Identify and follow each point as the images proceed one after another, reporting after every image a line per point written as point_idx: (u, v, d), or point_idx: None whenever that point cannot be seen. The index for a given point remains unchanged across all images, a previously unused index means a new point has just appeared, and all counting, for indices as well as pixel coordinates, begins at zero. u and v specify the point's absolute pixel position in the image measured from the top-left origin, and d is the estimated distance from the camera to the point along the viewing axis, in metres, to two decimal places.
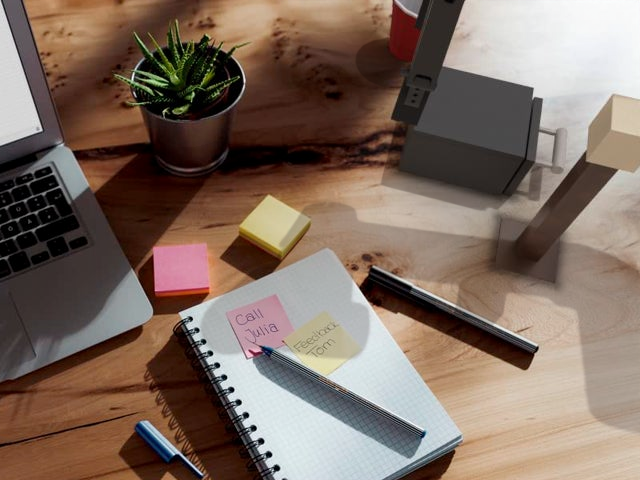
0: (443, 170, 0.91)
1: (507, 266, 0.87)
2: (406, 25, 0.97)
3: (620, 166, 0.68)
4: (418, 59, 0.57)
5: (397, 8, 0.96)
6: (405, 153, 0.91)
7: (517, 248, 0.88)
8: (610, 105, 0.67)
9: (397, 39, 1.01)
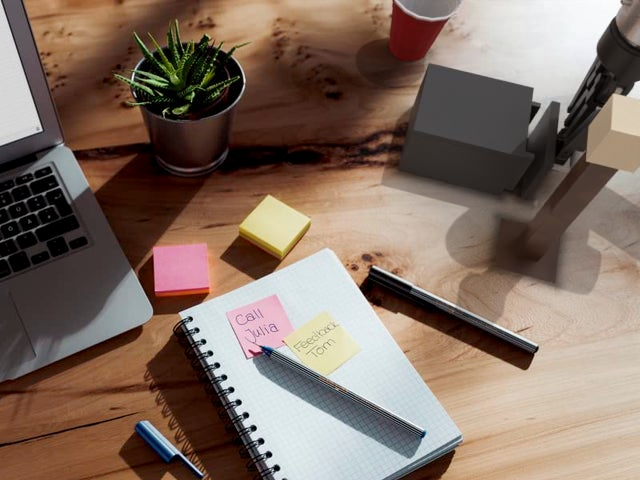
0: (443, 170, 0.91)
1: (507, 266, 0.87)
2: (406, 25, 0.97)
3: (620, 166, 0.68)
4: (574, 141, 0.83)
5: (397, 8, 0.96)
6: (405, 153, 0.91)
7: (517, 248, 0.88)
8: (610, 105, 0.67)
9: (397, 39, 1.01)
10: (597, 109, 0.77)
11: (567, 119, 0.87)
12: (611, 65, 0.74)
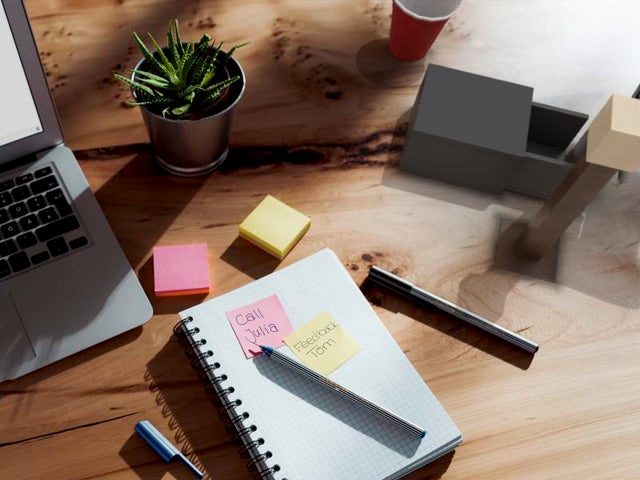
0: (443, 170, 0.91)
1: (507, 266, 0.87)
2: (406, 25, 0.97)
3: (620, 166, 0.68)
4: None
5: (397, 8, 0.96)
6: (405, 153, 0.91)
7: (517, 248, 0.88)
8: (610, 105, 0.67)
9: (397, 39, 1.01)
10: None
11: None
12: None
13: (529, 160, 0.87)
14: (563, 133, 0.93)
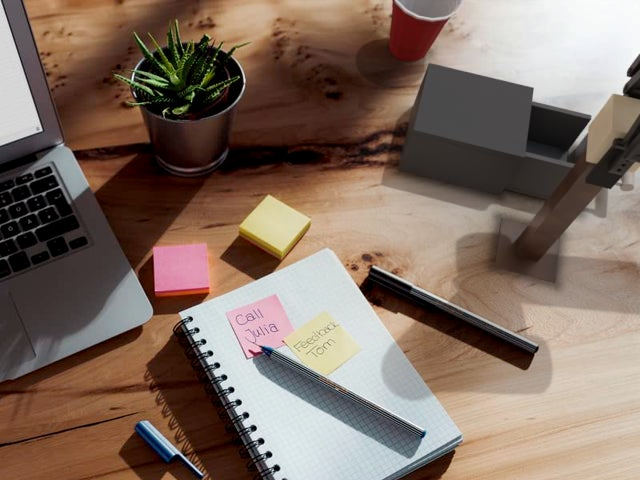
0: (443, 170, 0.91)
1: (507, 266, 0.87)
2: (406, 25, 0.97)
3: None
4: None
5: (397, 8, 0.96)
6: (405, 153, 0.91)
7: (517, 248, 0.88)
8: (610, 105, 0.67)
9: (397, 39, 1.01)
10: None
11: (628, 85, 0.67)
12: None
13: (532, 161, 0.87)
14: (566, 134, 0.93)
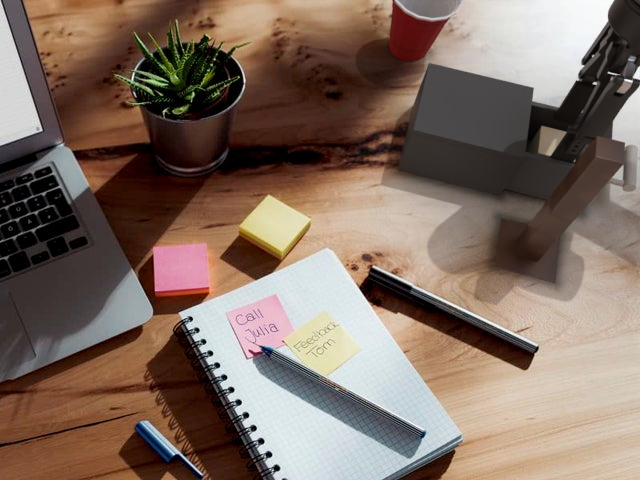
0: (443, 170, 0.91)
1: (507, 266, 0.87)
2: (406, 25, 0.97)
3: None
4: (587, 127, 0.77)
5: (397, 8, 0.96)
6: (405, 153, 0.91)
7: (517, 248, 0.88)
8: (539, 134, 0.91)
9: (397, 39, 1.01)
10: (612, 78, 0.73)
11: (581, 72, 0.84)
12: (624, 32, 0.70)
13: (534, 161, 0.87)
14: None
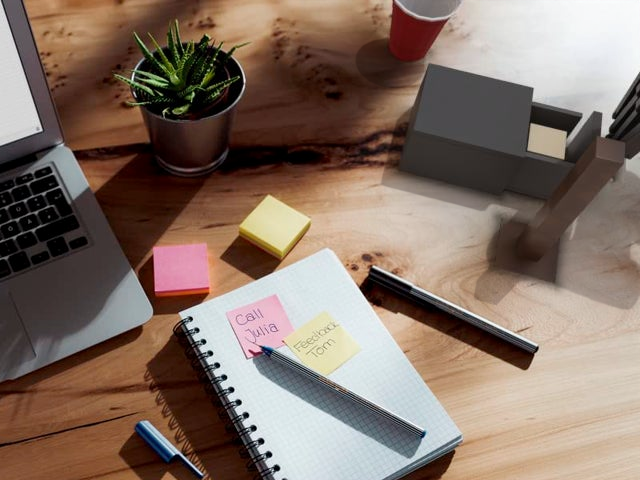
0: (443, 170, 0.91)
1: (507, 266, 0.87)
2: (406, 25, 0.97)
3: None
4: None
5: (397, 8, 0.96)
6: (405, 153, 0.91)
7: (517, 248, 0.88)
8: (528, 132, 0.91)
9: (397, 39, 1.01)
10: None
11: (613, 125, 0.86)
12: None
13: None
14: None
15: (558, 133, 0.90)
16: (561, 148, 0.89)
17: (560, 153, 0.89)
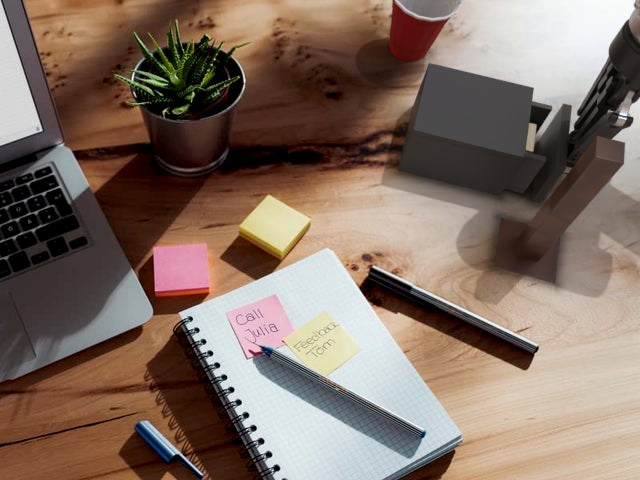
0: (443, 170, 0.91)
1: (507, 266, 0.87)
2: (406, 25, 0.97)
3: None
4: (584, 144, 0.83)
5: (397, 8, 0.96)
6: (405, 153, 0.91)
7: (517, 248, 0.88)
8: None
9: (397, 39, 1.01)
10: (609, 112, 0.77)
11: (577, 122, 0.87)
12: (623, 68, 0.74)
13: None
14: None
15: None
16: (530, 140, 0.90)
17: (529, 145, 0.89)
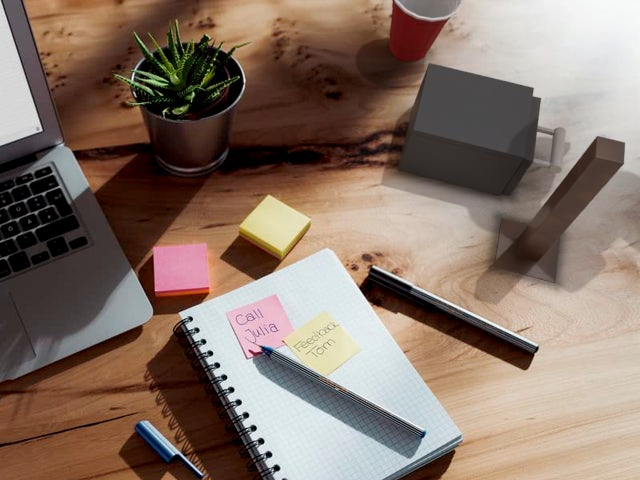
0: (443, 170, 0.91)
1: (507, 266, 0.87)
2: (406, 25, 0.97)
3: None
4: None
5: (397, 8, 0.96)
6: (405, 153, 0.91)
7: (517, 248, 0.88)
8: None
9: (397, 39, 1.01)
10: None
11: None
12: None
13: None
14: None
15: None
16: None
17: None
